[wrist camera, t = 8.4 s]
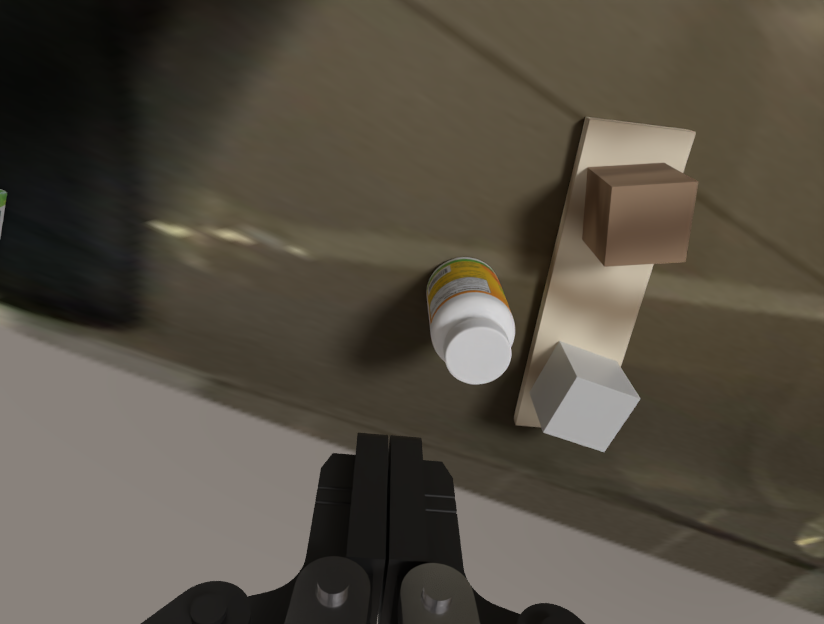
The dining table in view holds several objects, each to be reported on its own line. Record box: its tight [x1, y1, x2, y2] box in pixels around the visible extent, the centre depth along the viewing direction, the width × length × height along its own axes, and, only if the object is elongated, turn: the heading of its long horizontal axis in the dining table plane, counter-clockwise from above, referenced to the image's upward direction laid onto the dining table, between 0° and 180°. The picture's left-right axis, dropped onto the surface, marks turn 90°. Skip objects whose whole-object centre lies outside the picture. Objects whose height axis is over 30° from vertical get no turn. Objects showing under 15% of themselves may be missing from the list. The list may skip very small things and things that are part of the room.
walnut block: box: [582, 163, 698, 267], centre depth 38 cm, size 5×5×5 cm
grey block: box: [529, 341, 640, 452], centre depth 44 cm, size 5×5×5 cm
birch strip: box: [514, 117, 696, 427], centre depth 44 cm, size 24×7×1 cm, turn 173°
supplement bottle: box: [427, 257, 515, 384], centre depth 40 cm, size 5×5×10 cm
